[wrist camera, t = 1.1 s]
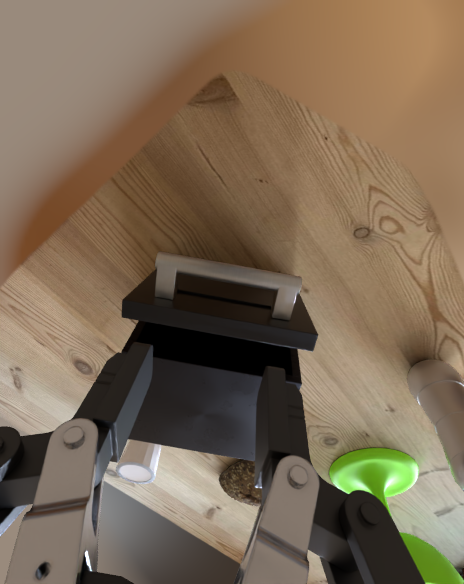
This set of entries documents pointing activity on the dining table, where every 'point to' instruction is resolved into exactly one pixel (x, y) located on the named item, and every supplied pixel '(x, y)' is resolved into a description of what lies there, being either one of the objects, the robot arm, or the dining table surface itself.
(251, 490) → the bread roll
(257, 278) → the oven door
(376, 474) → the wineglass
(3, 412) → the dining table surface
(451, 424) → the silver bottle
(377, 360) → the dining table surface
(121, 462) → the white cylindrical container
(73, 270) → the dining table surface
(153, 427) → the oven
